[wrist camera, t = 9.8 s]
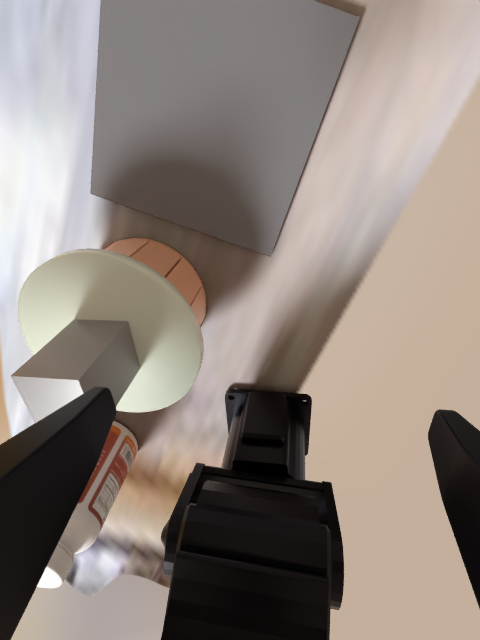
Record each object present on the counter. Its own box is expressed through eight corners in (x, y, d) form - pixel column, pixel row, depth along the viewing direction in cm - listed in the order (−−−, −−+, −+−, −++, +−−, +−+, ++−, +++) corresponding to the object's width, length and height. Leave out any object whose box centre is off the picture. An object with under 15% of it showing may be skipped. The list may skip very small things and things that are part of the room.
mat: (270, 254, 20) (270, 256, 20) (94, 192, 20) (90, 193, 19) (358, 19, 14) (360, 17, 14) (109, -73, 14) (104, -78, 14)
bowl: (211, 346, 24) (193, 395, 20) (108, 341, 26) (70, 386, 21) (199, 237, 20) (172, 269, 16) (77, 237, 22) (22, 267, 17)
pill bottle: (64, 430, 32) (-33, 559, 23) (100, 403, 29) (6, 538, 20) (115, 466, 34) (44, 600, 25) (153, 444, 31) (90, 586, 22)
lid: (212, 408, 20) (187, 490, 16) (62, 397, 22) (1, 469, 18) (190, 247, 15) (144, 302, 11) (-2, 249, 17) (-111, 296, 12)
